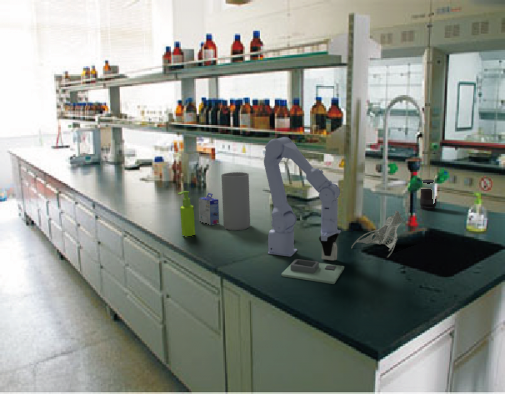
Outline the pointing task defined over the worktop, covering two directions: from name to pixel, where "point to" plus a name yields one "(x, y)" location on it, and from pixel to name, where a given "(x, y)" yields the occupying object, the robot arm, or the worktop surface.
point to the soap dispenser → (187, 215)
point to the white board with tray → (313, 271)
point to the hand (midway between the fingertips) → (328, 254)
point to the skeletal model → (384, 232)
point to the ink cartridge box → (208, 210)
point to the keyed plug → (333, 253)
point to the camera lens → (427, 197)
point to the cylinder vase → (235, 200)
